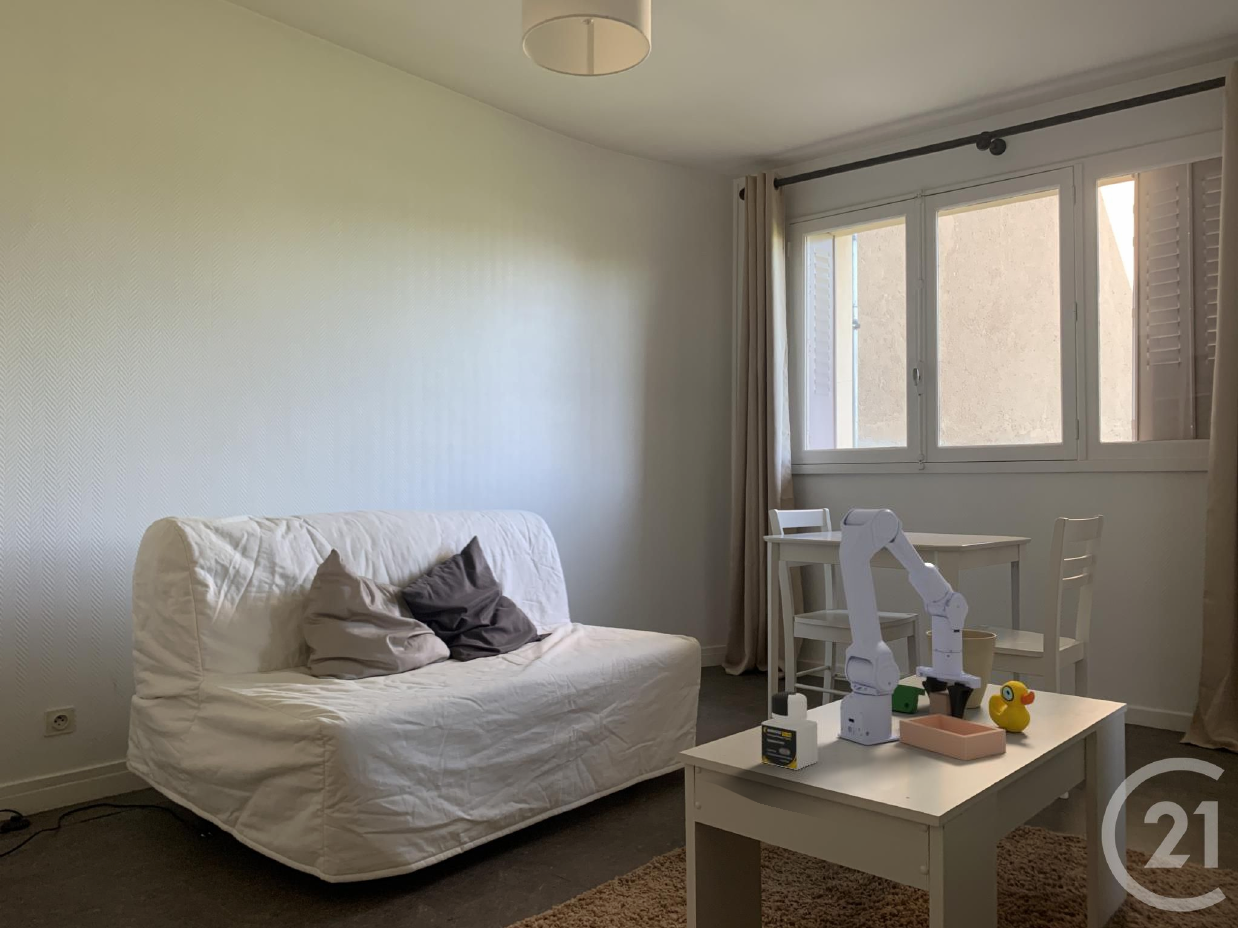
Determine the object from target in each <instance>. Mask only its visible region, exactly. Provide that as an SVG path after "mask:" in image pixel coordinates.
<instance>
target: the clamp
mask: <svg viewBox="0 0 1238 928" xmlns="http://www.w3.org/2000/svg"><path fill="white" fill-rule="evenodd" d="M919 696H924V697H925V696H926V691H925V689H924V688H921V687H917V686H911V685H906V684H905V685H904V684H899V683H898V685H897V687H896V688H895V689H894V693H893V694H891V699H892V711H897V712H903V713H909V714H914V713H915V712H916V711H918V708H919V707H918V705H919Z"/></svg>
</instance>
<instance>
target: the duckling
mask: <svg viewBox="0 0 1238 928" xmlns="http://www.w3.org/2000/svg"><path fill="white" fill-rule="evenodd" d="M1035 697H1036V696H1035V691H1032V690H1030V691H1029V690H1028V688H1027V687H1026V685H1025V684H1024V683H1022V682H1021V681H1018V680H1017V681H1016V680H1010V681H1008V682H1007V681H1006V683H1004V684H1003V685H1001V686H1000V689H999V693H995V694H992V695H991V696H990V697H989V700H988V715H989V717H990V718H991V720H992V721H993V723H994V724H995V725H997V726H998V727H999V728H1000V729H1004V730H1006V732H1007V731H1008V732H1010V733H1020V732H1022V731H1024V730H1025V729H1026V728H1027V727H1028V726H1029V725H1030V723H1031V715H1030V712H1029V711H1028V709H1027V707H1026V706H1029V705H1032V704H1033V703H1034V701H1035Z"/></svg>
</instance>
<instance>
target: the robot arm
mask: <svg viewBox="0 0 1238 928" xmlns="http://www.w3.org/2000/svg"><path fill="white" fill-rule="evenodd" d="M839 527H840V532H841V539H840V545H839V549H838V557H839V559H838V560H839V563H840V571H841V577H842V583H843V589H844V595H845V602H846V608H847V614H848V621H849V625H850V632H851V637H852V638H851V640H852V643H851V645H849V646H848V647H847V648H846V649H845V662H844V663H845V664H844V675H845V678H846V680H847V681H848V683H850V689H852V691H851V692H850V694H847V695H845V696H843V698H842V699H841V702H840V708H839V709H840V712H839V713H840V733H837V737H839V738H843V739H846V740H849V741H851V742H852V741H853V742H856V743H858V744H861V745H866V746H870V745H876V744H881V743H888V742H893V741H898V740H899V741H900V734H899V735H898V734H894V733H893V720H892V719H893V717H892V716H893V715H892V713H893V712H892V711H893V710H892V699H891V694H893V693H894V689H895V688H896V687H897V685H898V684H899V683H900V679H901V672H900V668H899V666H898V664H897V662H896V661H895V658H894V653H893V651H892V650H891V648H890V647H889V646H888V645H887V643H885V641H883V635H882V632H881V631H882V630H881V629H882V628H881V624H880V618H879V617H880V616H879V613H878V606H877V599H876V595H875V593H876V592H875V587H874V580H873V574H872V568H871V562H870V560H871V559H872V558H873V556H874V555H875V554H876V553H877V552H879V551H880V550H881V549H882V548H883V547H886V549H888V551H889V552H890V553H891V554H892V555H893V556H894V557H895V558H896V559H897V561H899V562H900V564H901V565H902V566H903V567H904V568H905V569H906V570H907V571H908V572H909V574H908V581H909V583H910V584H911V585H912V587H913V588H914V589H915V590H916V592H917V593H918V594H919V596H921V598H922V600H923V603H924V610H925V612H926V614H928V615H929V616H931V630H932V662H931V666H932V667H928V666H917V667H915V677H916V678H926V679H925V680H922V681H921V685H922V687H923V689H925V693H926V695H927V697H928V699H929V700H930V694H929V693H931V692H938V691H945V690H946V687H947V690H948V693H949V696H950V701H951V713H952V717H955V718H959V719H962V718H963V714H964V710H965V707H966V704H967V701H968V699H969V697H970V695H971V694H972V692H973V690H974V689H975V688H981V678H979V677H975V676H972V675H969V674H966V673H964V671H962V630H963V629H964V626H965V619H966V616H967V615H968V612H969V605H968V603H967V600H966V599H965V597H964V596H963V595H962V593H960V592H958V591H954V590H953V588H952V586H951V584H950V583H949V582H947V580H946V579H945V578H944V577H943V576H942V574H941V573H940V568H939V567H938V566H937V565H936V564H932V563H931V562H924V561H923V559H922V558H921V556H920V554H919V553H918V551H917V550H916V548H915V547H914V546H913V543H912V542H911V541H910V539H909V538H908V537H907V535H906V534H905V532H904V530H903V523H902V521H901V520H900V519H898V517H897V515H896V514H895V512H893V511H892V510H891V509H889V508H880V509H876V508H875V509H871V508H869V509H868V508H867V509H866V508H865V509H864V508H863V509H862V508H851V509H850V510H849V511H847V512H846V514H845V515H844V517H843V518H842V519H841V520H840V522H839ZM948 682H949V683H954V685H951V686H947V684H948Z"/></svg>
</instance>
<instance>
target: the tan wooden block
mask: <svg viewBox="0 0 1238 928" xmlns="http://www.w3.org/2000/svg"><path fill="white" fill-rule="evenodd" d="M929 694H930V699H929V715H933V714H943V715H947V716H951V717H952V713H951V701H950V696H949V693H948V690H945V691H938V692H931V693H929ZM962 719H963V720H967V708H966V707H965V710H964V714H963V718H962Z"/></svg>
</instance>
